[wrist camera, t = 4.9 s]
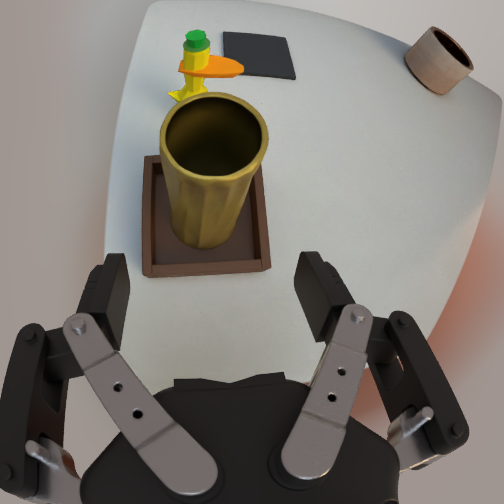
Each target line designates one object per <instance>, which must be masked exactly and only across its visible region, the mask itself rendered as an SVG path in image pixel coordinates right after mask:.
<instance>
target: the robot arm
mask: <svg viewBox="0 0 504 504" xmlns="http://www.w3.org/2000/svg"><path fill="white" fill-rule="evenodd" d="M294 288H295V291H296V294H297V296H298V299H299V301H300V303H301V306H302V308H303V311H304V313H305V316H306V318H307V321H308V324H309V326H310V329H311V331H312V334H313V336H314V339H315V341H316V342H323V341H325V343H326V347H325V349H324V351H323V354H322V356H321V358H320V361H319V363H318V365H317V368H316V370H315V372H314V374H313V377H312V379H311V381H310V383H309V385H308V386H307V385H305V384H303V383H300V382H297V381H293V380H288V379H285V375H284V372H278V373H269V374H259V375H255V376H252V377H249V378H246V379H243V380H240V381H236V382H233V383H225V382H219V381H213V380H207V379H202V378H198V379H174V387H170V388H167V389H164V390H162V391H160V392H158V393H156V394H155V395H153V396H152V395H151V393H150V392H149V391H148V390H147V389H146V387H145V386H144V385H143V384H142V382H141V381H140V380H139V379H138V377H137V376H136V375H135V373H134V372H133V371H132V369H131V368H130V367H129V365H128V364H127V363H126V361H125V360H124V359H123V357H122V356H121V355H120V353H119V352H118V351H120V347H121V340H122V334H123V328H124V322H125V316H126V310H127V305H128V300H129V295H130V280H129V275H128V269H127V264H126V259H125V255H124V253H109V254H107V256H106V259H105V262H104V264H103V265H97V266H96V267H95V268H94V269H93V270H92V271H91V272H90V274H89V277H88V280H87V283H86V285H85V289H84V291H83V294H82V296H81V299H80V302H79V305H78V308H77V311H76V314H74V315H72V316H70V317H69V318H68V319H67V320H66V321H65V322H64V324H63V327H61V328H57V329H53V330H49V331H45V330H44V328H43V327H42V326H41V325H39V324H36V323H32V324H28V325H26V326H24V327H23V328H22V329H21V330H20V331H19V333H18V335H17V338H16V341H15V344H14V347H13V351H12V354H11V357H10V361H9V364H8V368H7V372H6V376H5V380H4V384H3V389H2V393H1V398H0V488H1V489H2V490H4V491H6V492H8V493H10V494H13V495H16V496H17V497H19V498H21V499H24V500H27V501H30V502H33V503H36V504H399V501H398V480H399V474H400V473H402V472H404V471H407V470H409V469H412V470H419V469H421V468H423V467H425V466H427V465H429V464H431V463H433V462H435V461H437V460H439V459H440V458H442V457H444V456H445V455H447V454H449V453H451V452H452V451H454V450H456V449H457V448H459V447H460V446H462V445H464V443H466V441H467V440H468V437H469V427H468V424H467V421H466V419H465V417H464V415H463V412H462V410H461V408H460V406H459V404H458V402H457V399H456V397H455V395H454V393H453V391H452V389H451V387H450V385H449V383H448V381H447V379H446V377H445V375H444V373H443V371H442V369H441V367H440V365H439V363H438V361H437V360H436V357H435V356H434V354H433V352H432V350H431V348H430V346H429V345H428V343H427V341H426V339H425V337H424V336H423V334H422V332H421V330H420V329H419V327H418V325H417V324H416V322H415V320H414V319H413V318H412V317H411V316H410V315H409V314H407V313H406V312H403V311H394V312H392V313H391V314H390V316H389V318H388V319H387V318H381V317H374V316H372V314H371V312H370V311H369V310H368V309H367V308H366V307H364V306H362V305H359V304H356V303H355V301H354V299H353V298H352V296H351V294H350V292H349V291H348V289H347V287H346V285H345V284H344V283H343V280H342V279H341V277H340V275H339V274H338V272H337V270H336V269H335V268H334V267H333V266H332V265H331V264H330V263H328V262H324V261H323V260H322V258H321V256H320V254H319V253H318V252H317V251H309V252H301V253H300V256H299V260H298V264H297V268H296V272H295V276H294ZM397 356H398V357H399V359H400V361H401V363H402V365H403V369H404V372H403V370H402V368H401V365H400V363H399V361H398V359H397ZM366 362H367V363H368V365H369V368H370V370H371V373H372V375H373V378H374V380H375V383H376V385H377V388H378V390H379V393H380V396H381V398H382V401H383V404H384V406H385V409H386V411H387V414H388V417H389V420H390V423H391V424H390V425H389V427H388V437H387V440H385V439H384V438H382V437H381V436H379V435H378V434H376V433H375V432H373V431H372V430H370V429H369V428H367V427H366V426H364V425H363V424H361V423H360V422H358V421H357V420H355V419H354V418H353V417H351V416H350V412H351V410H352V407H353V404H354V401H355V398H356V395H357V391H358V388H359V385H360V381H361V378H362V375H363V371H364V368H365V364H366ZM83 375H85V376H86V378H87V380H88V382H89V383H90V385H91V387H92V388H93V390H94V392H95V393H96V395H97V396H98V398H99V400H100V401H101V403H102V404H103V406H104V407H105V409H106V410H107V412H108V413H109V415H110V416H111V418H112V419H113V421H114V422H115V423H116V425H117V426H118V428H119V429H120V430H121V431H120V432H119V434H118V435H117V436H116V437H115V438H114V439H113V441H112V442H111V443H110V444H109V445H108V446H107V447H106V448H105V450H104V451H103V452H102V453H101V454H100V455H99V457H98V458H97V459H96V460H95V461H94V462H93V463H92V464H91V466H90V467H89V468H88V469H87V470H86V471H85V473H84V474H83V476H82V479H81V478H80V477H79V476H78V474H77V472H76V470H75V465H74V461H73V458H72V456H71V455H70V454H69V453H68V452H67V451H66V450H64V449H63V438H64V437H63V436H64V421H65V408H66V399H67V390H68V382H69V379H70V378H75V377H79V376H83Z"/></svg>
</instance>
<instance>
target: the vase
mask: <svg viewBox="0 0 504 504" xmlns="http://www.w3.org/2000/svg"><path fill="white" fill-rule="evenodd" d="M268 140H269V137H268V130H267V126H266V123H265V121H264V119H263V117H262V116H261V114H260V113H259V112H258V111H257V110H256V109H255V108H254V107H253V106H251V105H250V104H249V103H247V102H246V101H244V100H242V99H240V98H238V97H236V96H233V95H230V94H227V93H222V92H204V93H200V94H196V95H193V96H190V97H188V98H185V99H183V100H181V101H180V102H179V103H177V104H176V105H175V106H174V107H173V108H172V109H171V110H170V111H169V113H168V114H167V116H166V118H165V120H164V122H163V124H162V126H161V129H160V157H161V163H162V168H163V172H164V176H165V181H166V186H167V189H168V194H169V200H170V207H171V212H170V223H171V227H172V230H173V232H174V233H175V235H176V236H177V237H178V238H179V240H180V241H182V242H183V243H184V244H186V245H188V246H191V247H193V248H196V249H210V248H214V247H217V246H219V245H220V244H222V243H224V242H225V241H226V240H227V239H228V238H229V237H230V236H231V234H232V232H233V230H234V228H235V226H236V220H237V218H238V216H239V213H240V210H241V208H242V205H243V203H244V201H245V197H246V194H247V192H248V189H249V186H250V182H251V179H252V177H253V175H254V174H255V173H256V171H257V170H258V168H259V166H260V164H261V162H262V160H263V157H264V155H265V152H266V150H267V146H268Z"/></svg>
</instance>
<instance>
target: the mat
mask: <svg viewBox="0 0 504 504" xmlns="http://www.w3.org/2000/svg"><path fill="white" fill-rule="evenodd" d="M223 41H224V57H226V58H229V59H232V60H235V61H237V62H238V63H240V64H241V65H243V66H244V72H243V73H241V74H239V75H251V76H264V77H274V78H283V79H291V80H295V79H296V75H295V71H294V67H293V63H292V59H291V56H290V52H289V48H288V44H287V41H286V38H284V37H277V36H269V35H261V34H251V33H238V32H223Z"/></svg>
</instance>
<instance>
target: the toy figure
mask: <svg viewBox="0 0 504 504" xmlns="http://www.w3.org/2000/svg"><path fill="white" fill-rule="evenodd" d="M185 36H186V39H187V40H186V41H185V42H184V44H183V48H184V54H183V60H181V62H180V66H179V70H178V72H181V73H184V76H185V82H186V85H185V86H184V87H183V88H182V89H181V90H178V91H173V92H167V93H168V94H169V95H170V96H171V97H172V98H173V99H175V100H176V101H177V102H178V103H179V102H180V101H181V100H183V99H185V98H188V97H190V96H193V95H196V94H200V93H204V92H208V91H207V88H206V87H205V86H203V83H204V79H205V78H233V77H235V76H237V75H239V74H241V73H243V72H244V66H243V65H241V64H240V63H238V62H237V61H235V60H232V59H229V58H226V57H220V56H214V55H209V52H210V47H209V46H210V41H209V40H208V39H207V38H206V34H205V32H204V31H201V30H194V31H189V32H188V33H187V34H186V35H185Z"/></svg>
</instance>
